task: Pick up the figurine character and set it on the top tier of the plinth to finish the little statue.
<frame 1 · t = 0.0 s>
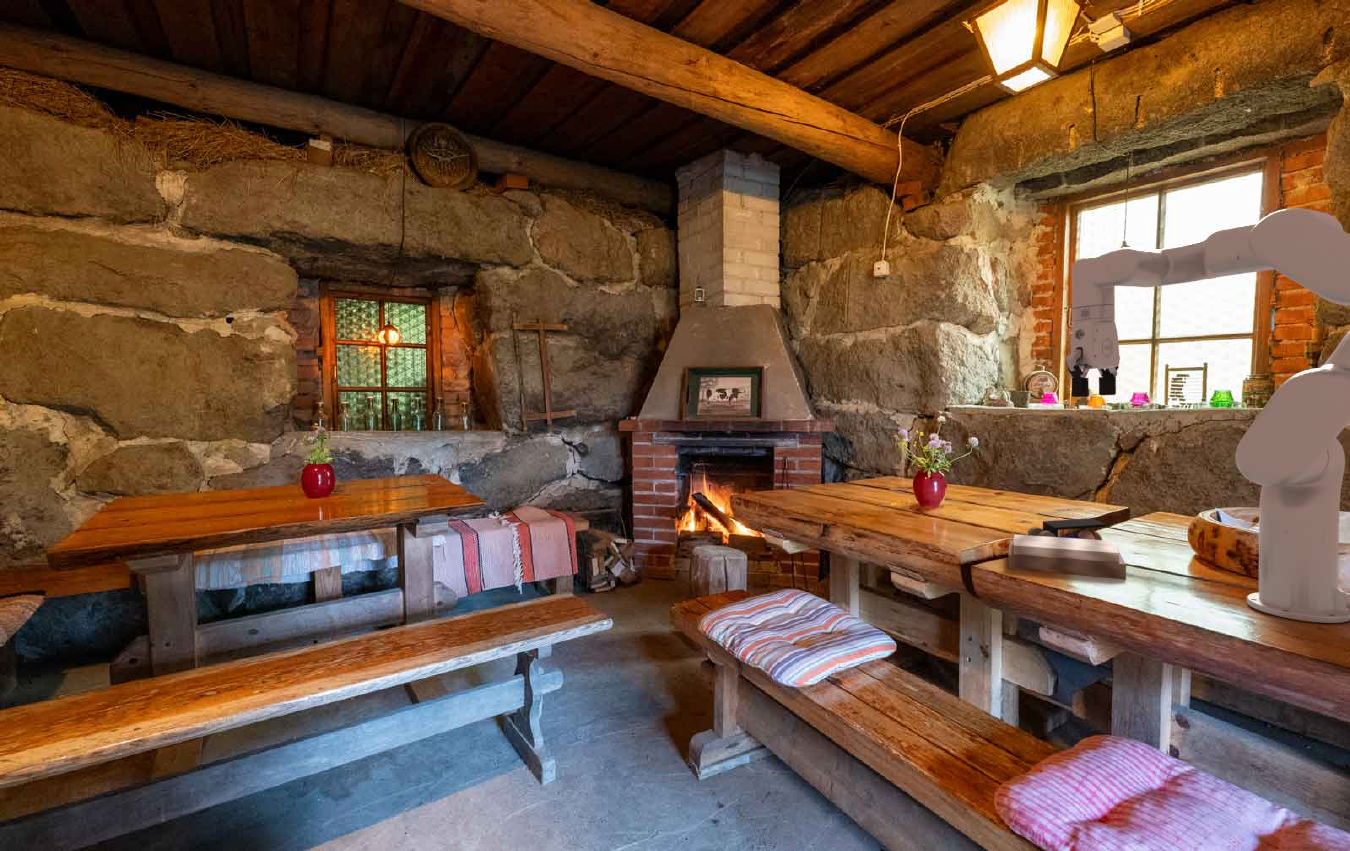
hand: (1094, 395, 133), 37 cm above the table, tool pointing down, fingers open, 9 cm apart
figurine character: (1067, 551, 148), on the table
plinth: (1063, 565, 136), on the table
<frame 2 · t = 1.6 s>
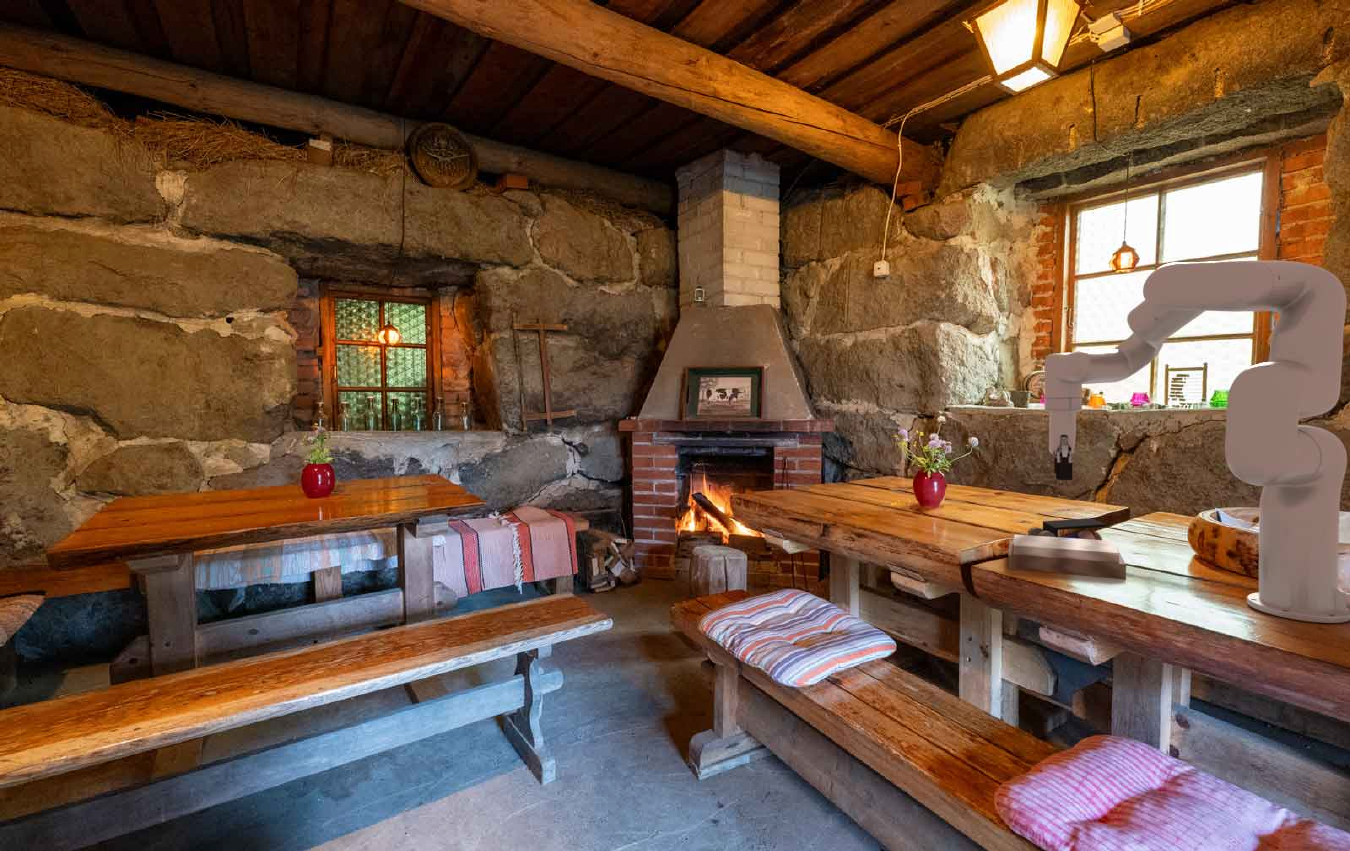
hand: (1062, 476, 147), 18 cm above the table, tool pointing down, fingers open, 9 cm apart
nothing on the table moved.
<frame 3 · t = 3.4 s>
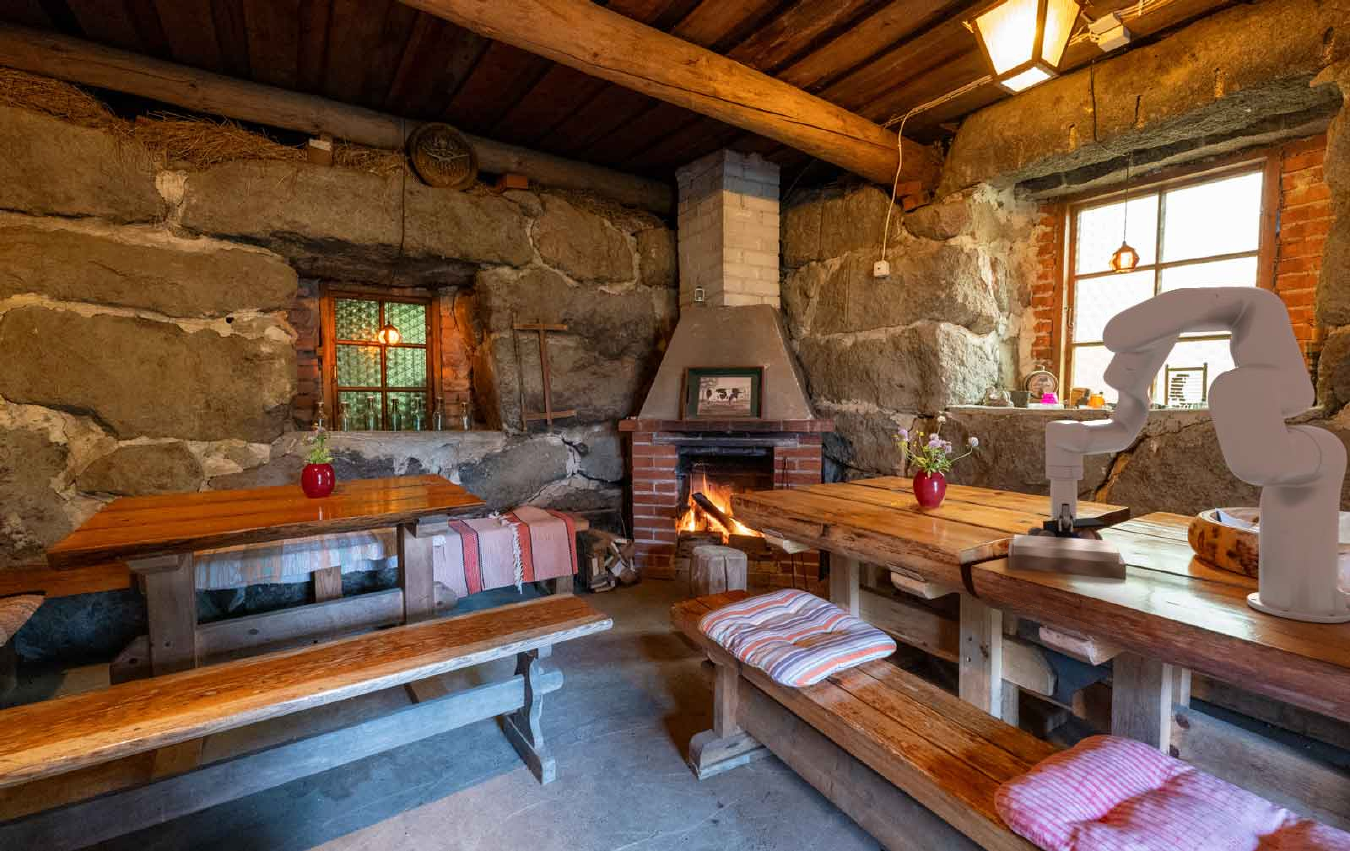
hand: (1064, 544, 148), 2 cm above the table, tool pointing down, fingers closed on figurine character, 8 cm apart
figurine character: (1067, 551, 148), on the table, touching gripper
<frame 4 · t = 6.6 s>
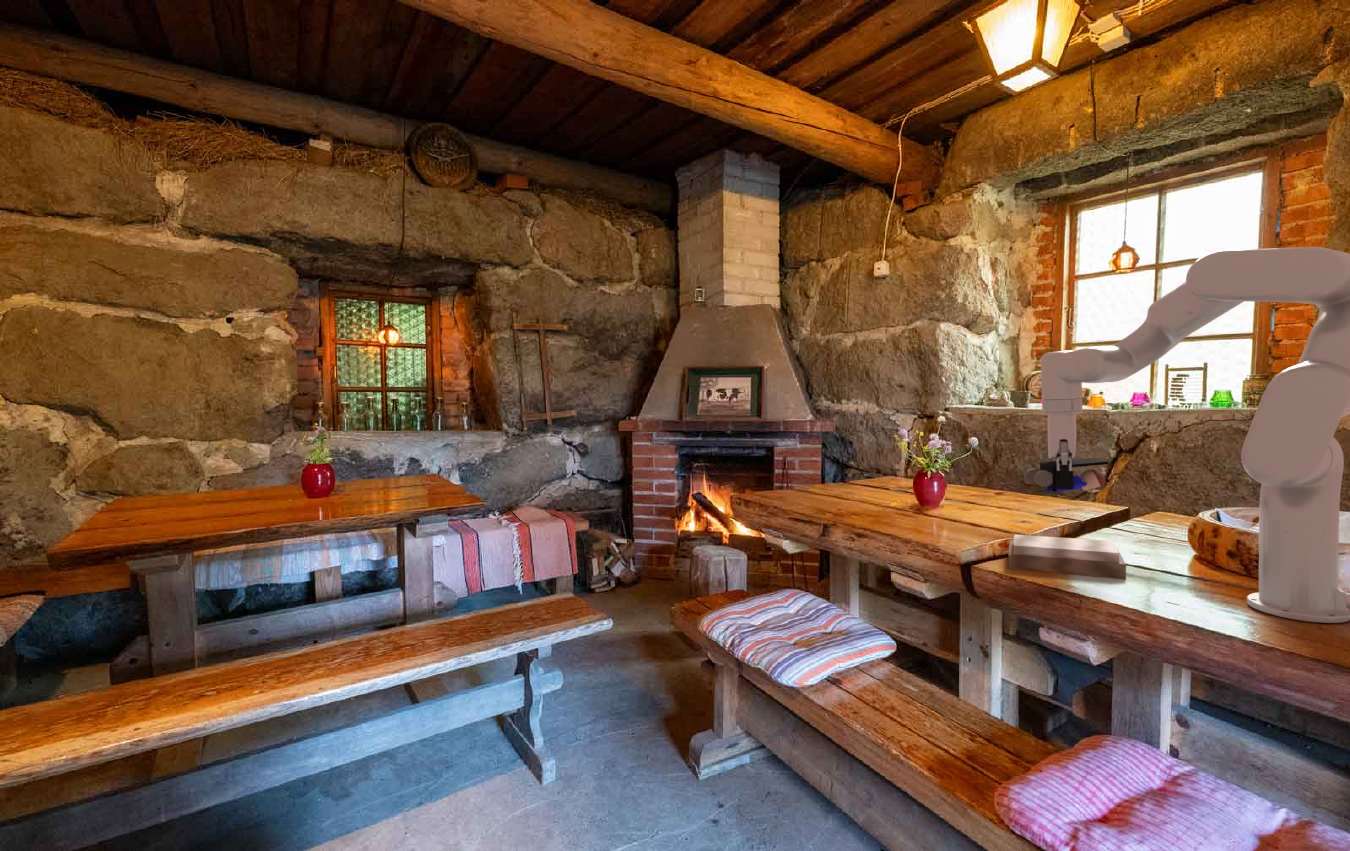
hand: (1064, 486, 136), 18 cm above the table, tool pointing down, fingers closed on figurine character, 8 cm apart
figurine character: (1066, 493, 136), point 16 cm above the table, touching gripper
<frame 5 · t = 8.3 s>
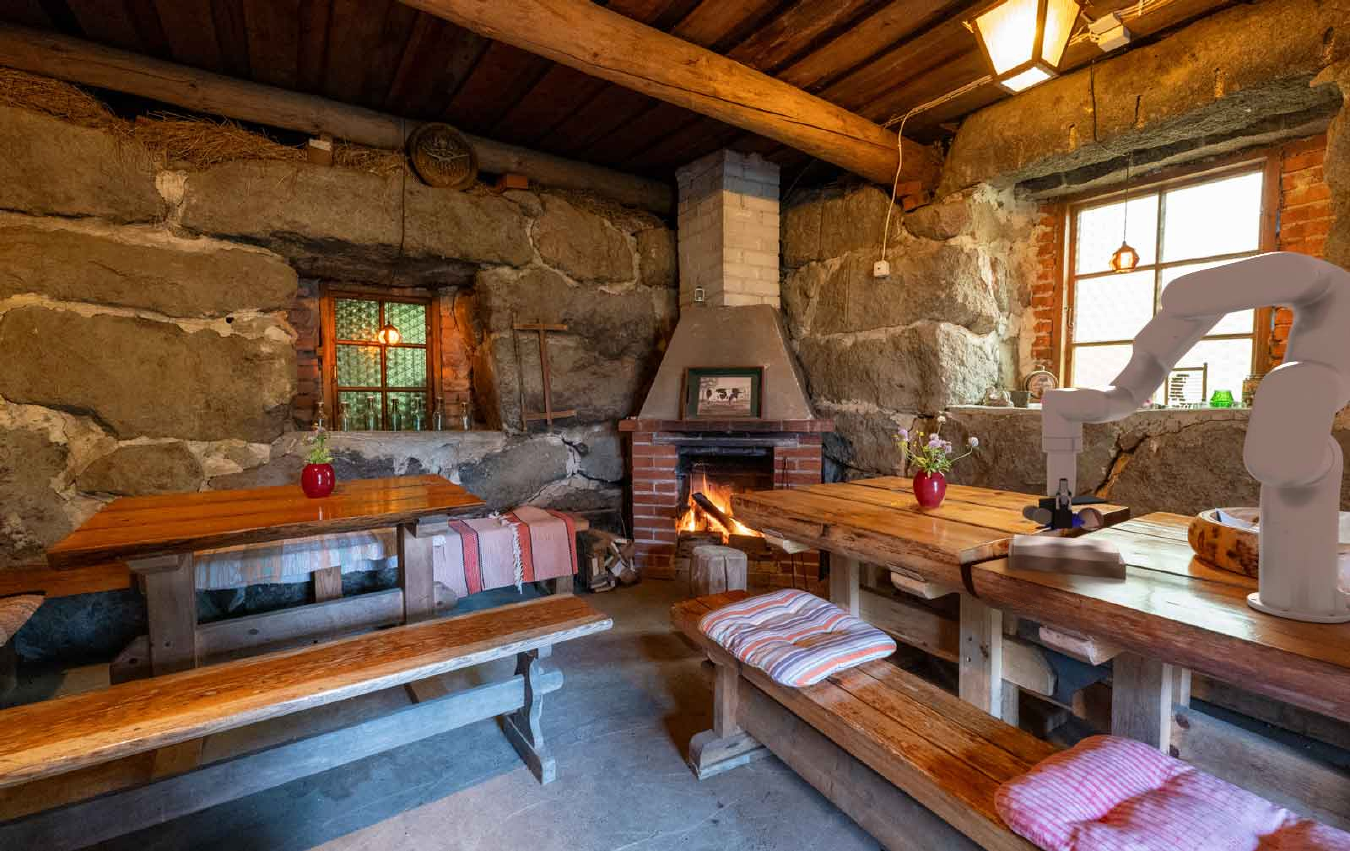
hand: (1062, 523, 136), 9 cm above the table, tool pointing down, fingers closed on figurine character, 8 cm apart
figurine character: (1065, 531, 136), point 8 cm above the table, touching gripper
when the fingers open (8 cm above the table, at t = 9.7 s): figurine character stays where it is, resting on plinth.
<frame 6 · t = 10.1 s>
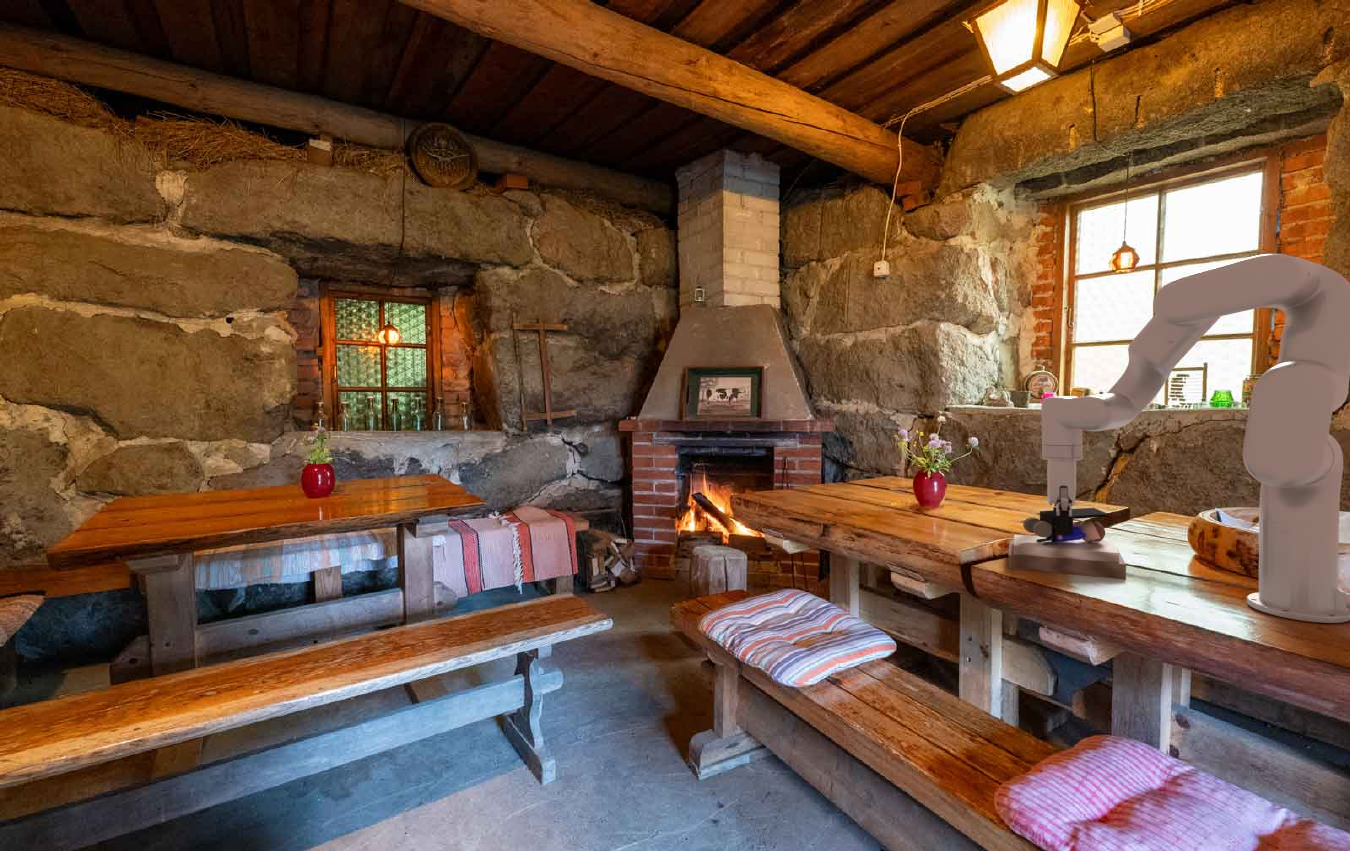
hand: (1063, 529, 136), 8 cm above the table, tool pointing down, fingers open, 9 cm apart
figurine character: (1066, 544, 136), point 5 cm above the table, touching plinth
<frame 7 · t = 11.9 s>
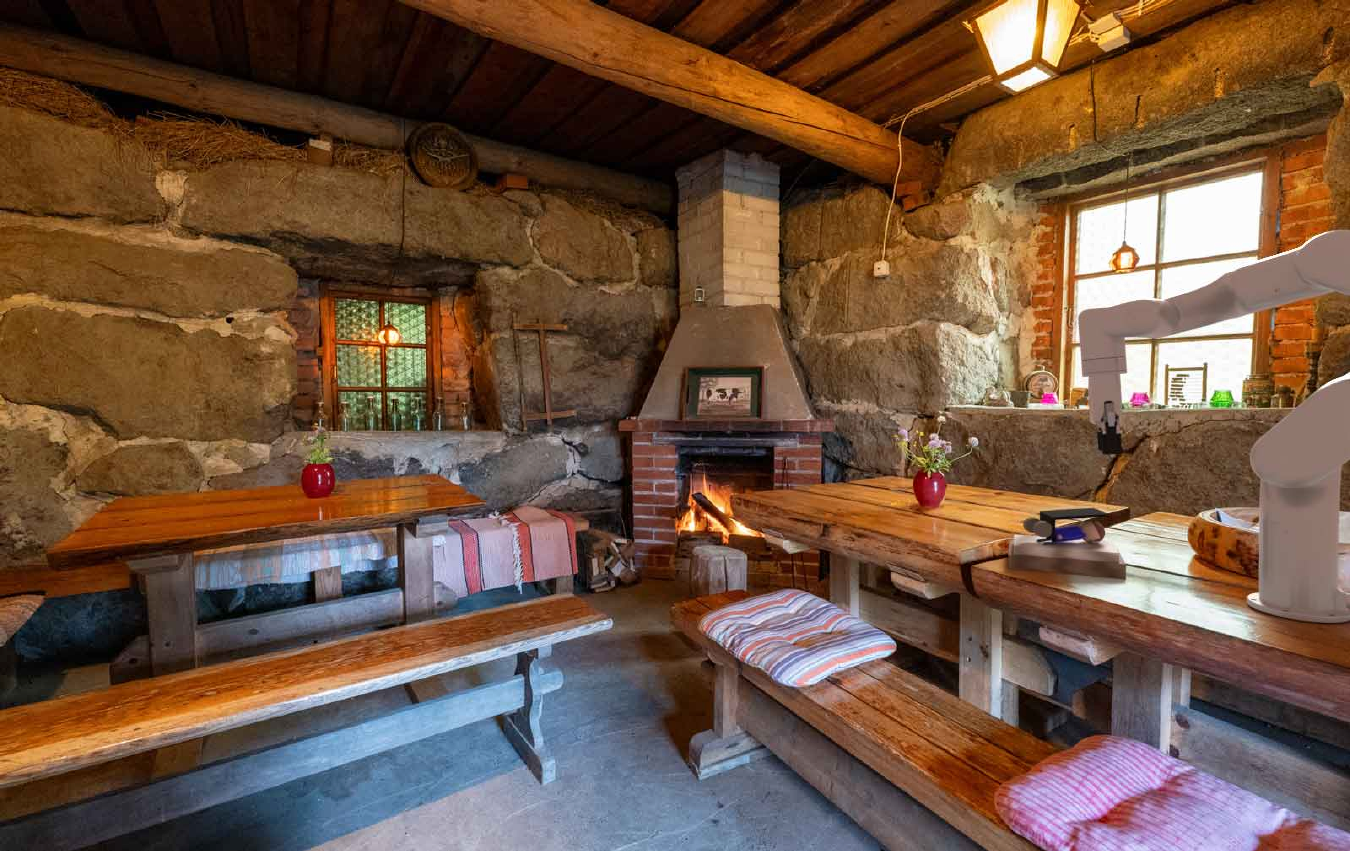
hand: (1109, 452, 125), 26 cm above the table, tool pointing down, fingers open, 9 cm apart
nothing on the table moved.
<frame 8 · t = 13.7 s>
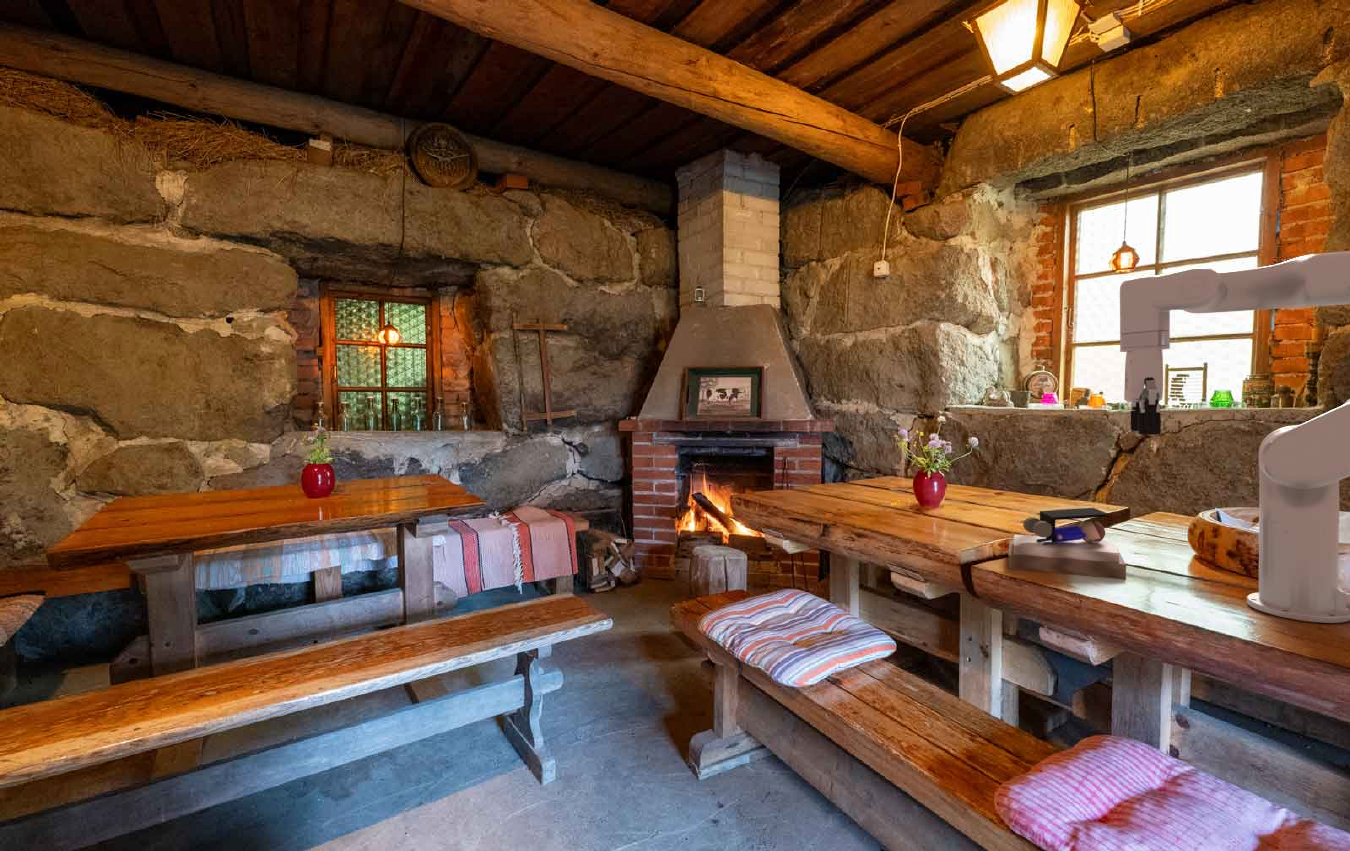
hand: (1145, 432, 118), 30 cm above the table, tool pointing down, fingers open, 9 cm apart
nothing on the table moved.
at the end: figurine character inside the target area on the plinth (0.6 cm from its centre), point 4.8 cm above the plinth's base; the gripper is holding nothing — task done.
